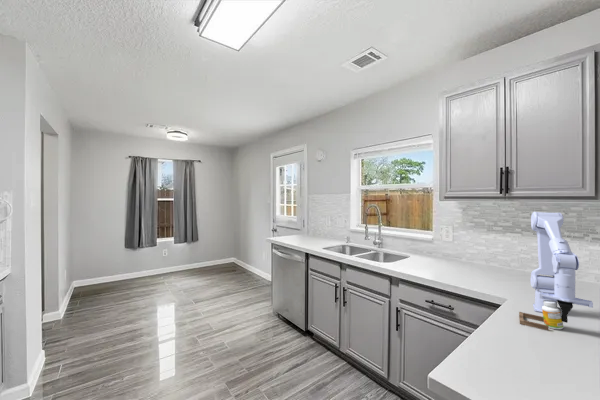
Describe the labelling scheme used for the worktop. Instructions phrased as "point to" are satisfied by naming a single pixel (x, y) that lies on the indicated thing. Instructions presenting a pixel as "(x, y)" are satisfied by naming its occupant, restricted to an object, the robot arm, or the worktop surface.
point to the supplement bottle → (552, 314)
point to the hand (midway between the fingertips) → (564, 321)
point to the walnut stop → (532, 324)
